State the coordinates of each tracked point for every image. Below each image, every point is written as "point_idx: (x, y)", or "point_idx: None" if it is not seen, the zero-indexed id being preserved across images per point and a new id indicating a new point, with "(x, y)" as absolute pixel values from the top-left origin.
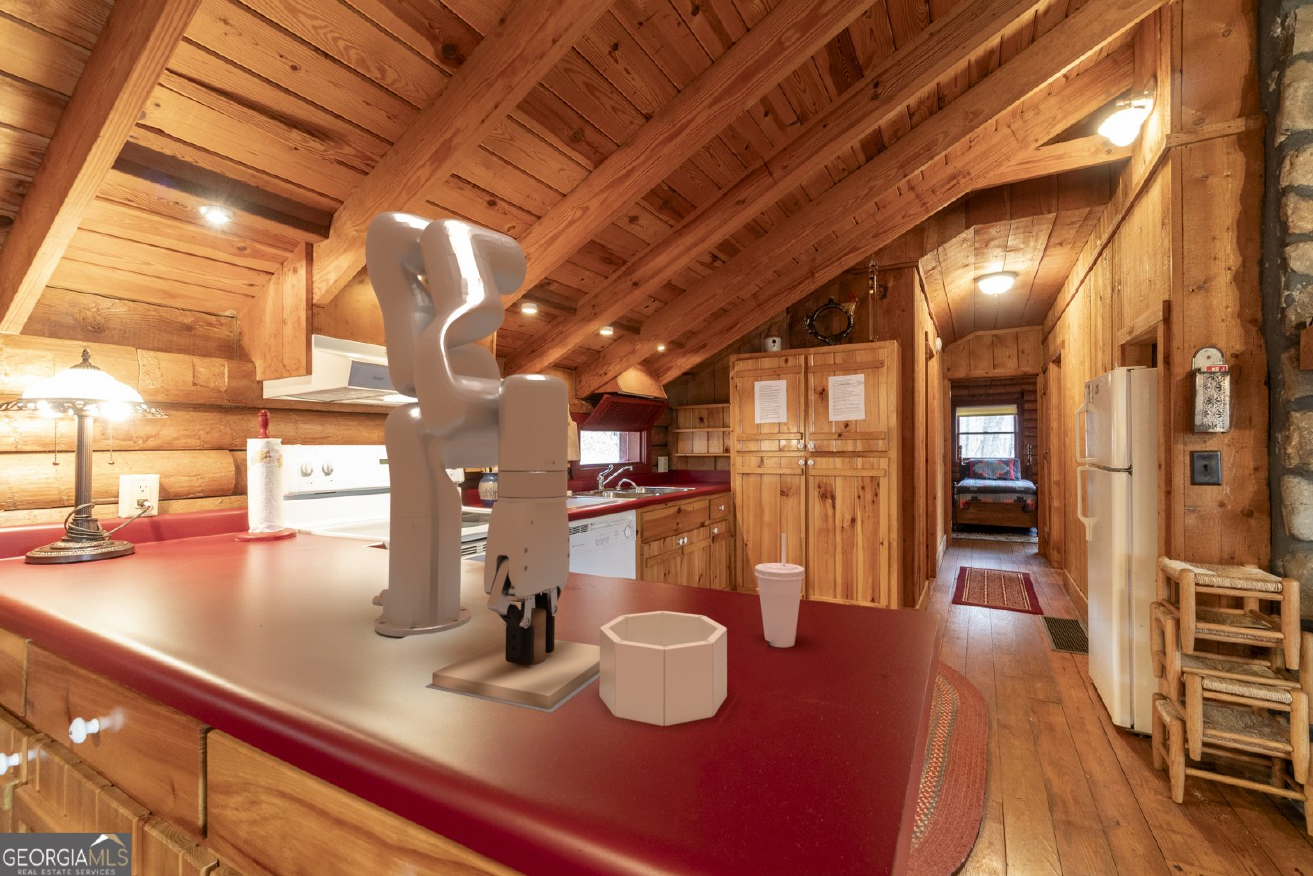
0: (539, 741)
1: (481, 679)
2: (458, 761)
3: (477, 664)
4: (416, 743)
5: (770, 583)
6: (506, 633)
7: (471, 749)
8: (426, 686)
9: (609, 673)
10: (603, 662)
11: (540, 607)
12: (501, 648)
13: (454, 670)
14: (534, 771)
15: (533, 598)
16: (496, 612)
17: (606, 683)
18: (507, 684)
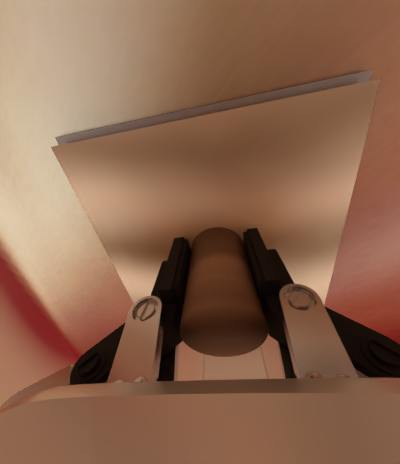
0: (115, 323)
1: (112, 244)
2: (48, 300)
3: (143, 188)
4: (20, 256)
5: None
6: (163, 273)
7: (64, 296)
8: (57, 140)
9: (181, 380)
10: (193, 378)
11: (280, 327)
12: (241, 154)
13: (93, 175)
14: (90, 338)
15: (289, 340)
16: (64, 370)
17: (188, 360)
18: (130, 281)
